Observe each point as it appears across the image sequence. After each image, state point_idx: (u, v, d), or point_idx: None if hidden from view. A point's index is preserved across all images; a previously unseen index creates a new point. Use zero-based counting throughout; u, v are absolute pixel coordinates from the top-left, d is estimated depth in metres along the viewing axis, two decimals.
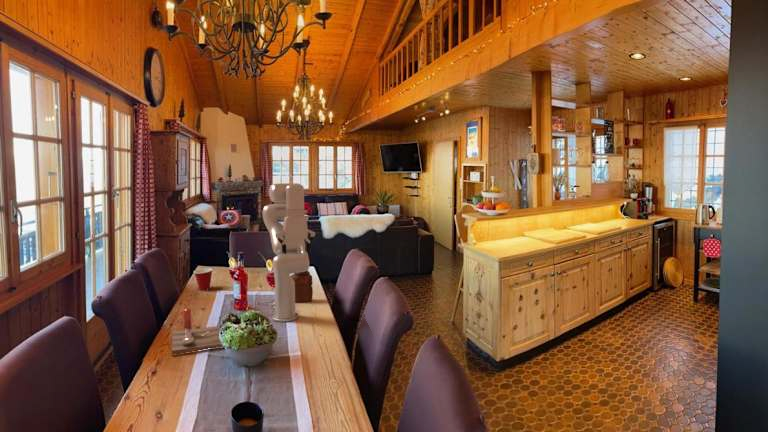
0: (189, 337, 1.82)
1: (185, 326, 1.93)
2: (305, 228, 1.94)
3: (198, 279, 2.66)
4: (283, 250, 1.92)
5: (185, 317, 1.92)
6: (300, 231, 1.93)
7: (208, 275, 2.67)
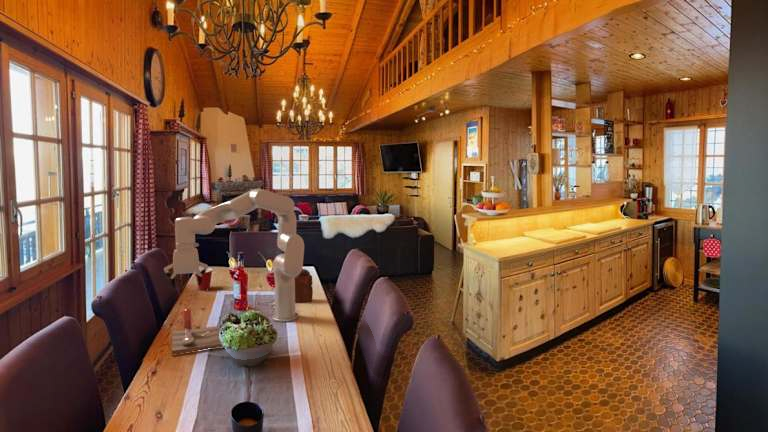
0: (189, 337, 1.82)
1: (185, 326, 1.93)
2: (195, 262, 1.91)
3: None
4: (172, 284, 1.89)
5: (185, 317, 1.92)
6: (190, 265, 1.90)
7: (208, 275, 2.67)
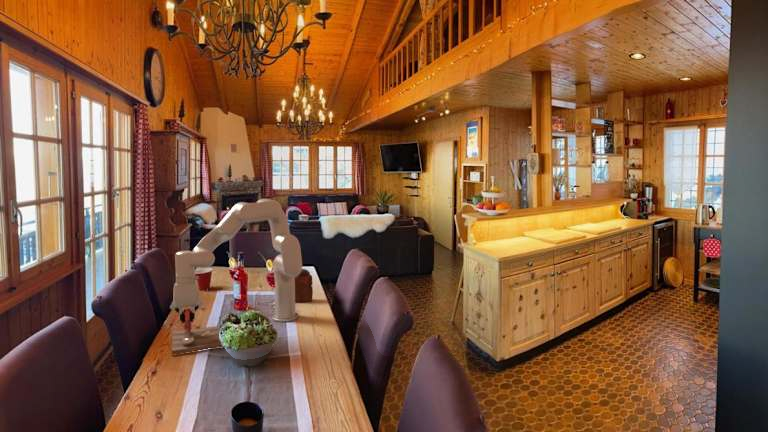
0: (189, 337, 1.82)
1: (185, 326, 1.93)
2: (196, 295, 1.92)
3: (198, 279, 2.66)
4: (180, 319, 1.92)
5: (185, 317, 1.92)
6: (190, 298, 1.91)
7: (208, 275, 2.67)
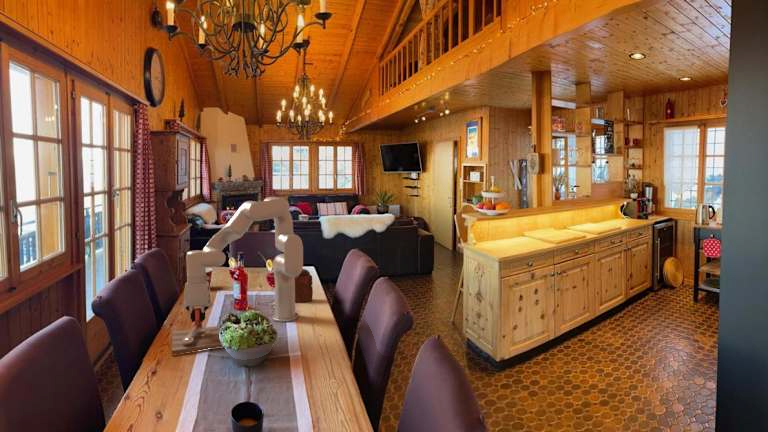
0: (189, 337, 1.82)
1: (195, 325, 1.94)
2: (204, 295, 1.92)
3: None
4: (191, 318, 1.94)
5: (195, 316, 1.93)
6: (199, 298, 1.92)
7: (208, 275, 2.67)
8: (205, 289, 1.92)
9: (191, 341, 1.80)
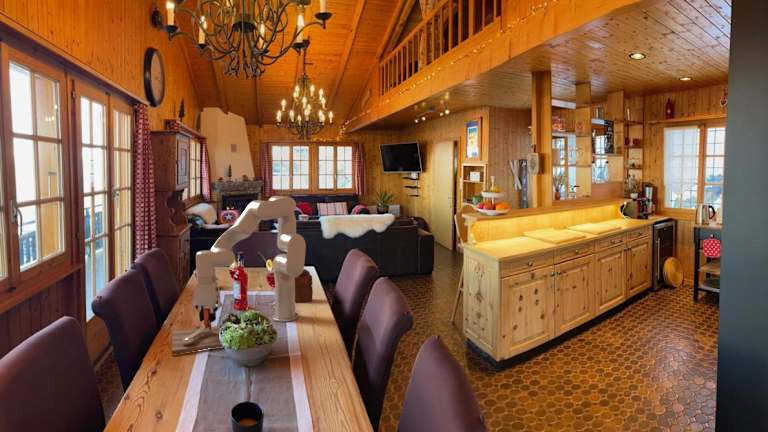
0: (190, 337, 1.82)
1: (204, 325, 1.94)
2: (211, 296, 1.91)
3: None
4: None
5: (204, 316, 1.93)
6: (207, 298, 1.91)
7: None
8: (212, 290, 1.91)
9: (190, 341, 1.80)
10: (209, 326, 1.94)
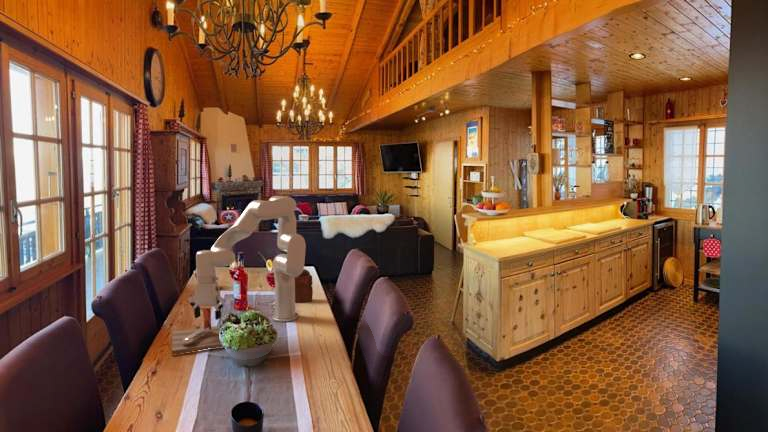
0: (190, 337, 1.82)
1: (204, 325, 1.94)
2: (212, 296, 1.91)
3: None
4: (195, 314, 1.95)
5: (204, 316, 1.93)
6: (207, 298, 1.91)
7: None
8: (212, 290, 1.91)
9: (190, 341, 1.80)
10: (209, 326, 1.94)
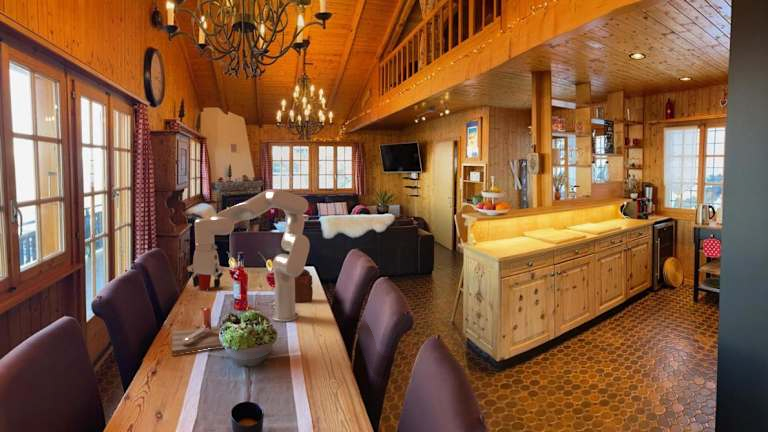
0: (190, 337, 1.82)
1: (204, 325, 1.94)
2: (211, 264, 1.89)
3: None
4: (193, 283, 1.93)
5: (204, 316, 1.93)
6: (206, 266, 1.90)
7: (208, 275, 2.67)
8: (211, 258, 1.89)
9: (190, 341, 1.80)
10: (209, 326, 1.94)
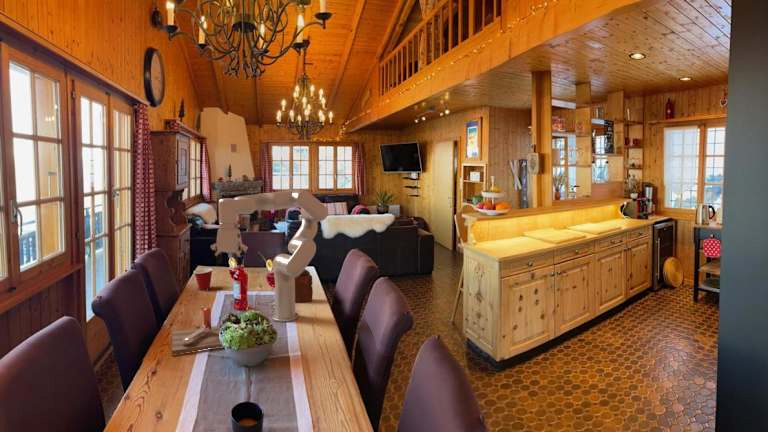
0: (190, 337, 1.82)
1: (204, 325, 1.94)
2: (234, 242, 1.96)
3: (198, 279, 2.66)
4: None
5: (204, 316, 1.93)
6: (229, 244, 1.96)
7: (208, 275, 2.67)
8: (235, 236, 1.95)
9: (190, 341, 1.80)
10: (209, 326, 1.94)
